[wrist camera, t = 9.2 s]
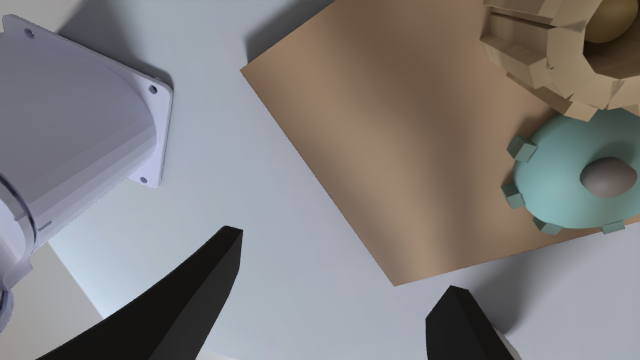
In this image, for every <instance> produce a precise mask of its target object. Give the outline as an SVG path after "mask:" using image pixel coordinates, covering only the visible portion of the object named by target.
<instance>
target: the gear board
mask: <svg viewBox="0 0 640 360" xmlns="http://www.w3.org/2000/svg"><path fill="white" fill-rule="evenodd" d="M483 2H484V0H335V1H334V2H333V3H331V4H330V5H328V6H327V7H326V8H324V9H323V10H322V11H320V12H319V13H317V14H316V15H315V16H313V17H312V18H311V19H309V20H308V21H306V22H305V23H304V24H302V25H301V26H300V27H298V28H297V29H295V30H294V31H293V32H291V33H290V34H288V35H287V36H286V37H284V38H283V39H282V40H280V41H279V42H277V43H276V44H275V45H273V46H272V47H271V48H269V49H268V50H266V51H265V52H264V53H262V54H261V55H260V56H258V57H257V58H255V59H254V60H253V61H251V62H250V63H249V64H247V65H246V66H244V67H243V68H242V69H240V72H241V73H242V74H243V76H244V77H245V79H246V80H247V81H248V83H249V84H250V86H251V87H252V88H253V90H254V91H255V93H256V94H257V95H258V97H259V98H260V100H261V101H262V102H263V104H264V105H265V107H266V108H267V109H268V111H269V112H270V114H271V115H272V116H273V118H274V119H275V121H276V122H277V123H278V125H279V126H280V128H281V129H282V130H283V132H284V133H285V135H286V136H287V137H288V139H289V140H290V142H291V143H292V144H293V146H294V147H295V149H296V150H297V151H298V153H299V154H300V156H301V157H302V158H303V160H304V161H305V163H306V164H307V165H308V167H309V168H310V170H311V171H312V172H313V174H314V175H315V177H316V178H317V179H318V181H319V182H320V184H321V185H322V186H323V188H324V189H325V191H326V192H327V193H328V195H329V196H330V198H331V199H332V200H333V202H334V203H335V205H336V206H337V207H338V209H339V210H340V212H341V213H342V214H343V216H344V217H345V219H346V220H347V221H348V223H349V224H350V226H351V227H352V228H353V230H354V231H355V233H356V234H357V235H358V237H359V238H360V240H361V241H362V242H363V244H364V245H365V247H366V248H367V249H368V251H369V252H370V254H371V255H372V256H373V258H374V259H375V261H376V262H377V263H378V265H379V266H380V268H381V269H382V270H383V272H384V273H385V275H386V276H387V277H388V279H389V280H390V282H391V283H392V284H393V286H398V285H402V284H406V283H409V282H413V281H417V280H421V279H424V278H428V277H432V276H436V275H439V274H443V273H447V272H451V271H454V270H458V269H462V268H466V267H470V266H473V265H477V264H481V263H485V262H488V261H492V260H496V259H500V258H503V257H507V256H511V255H515V254H518V253H522V252H526V251H530V250H534V249H537V248H541V247H545V246H549V245H552V244H556V243H560V242H564V241H567V240H571V239H575V238H579V237H582V236H586V235H590V234H594V233H598V232H601V231H602V232H603V233H604V234H607V233H611V232H615V231H619V230H622V229H625V226H624V225H628V224H631V223H635V222H639V221H640V117H639V116H637V115H635V114H633V113H631V112H629V111H627V110H625V109H623V108H621V107H620V108H615V109H610V110H607V109H605V108H604V109H603V110H602V109H598V110H597V111H596V112H595V114H594V115H593V116H592V118H591V119H590V120H589V121H588V122H587V121H583V120H579V119H575V118H571V117H568V116H564V115H562V114H561V113H559V112H558V111H557V110H555V109H554V108H552V107H551V106H549V105H548V104H546V103H545V102H543V101H542V100H541V99H539V98H538V97H536V96H535V95H533V94H532V93H530V92H529V91H527V90H526V89H525V88H523V87H522V86H520V85H519V84H517V83H516V82H514V81H513V80H511V79H510V78H509V77H507V76H506V75H507V73H508V71H506V70H505V69H503V68H502V67H500V66H498V65H497V64H495V63H494V62H492V61H491V60H489V59H488V58H486V57H485V55H484V52H483V50H482V47H481V44H480V41H479V40H480V39H482V38H484V37H486V36H488V35H489V34H491V25H490V15H491V14H494V13H496V12H492V11H491V10H492V8H493V7H491V6H487V5H483ZM637 12H638V2H637V0H602V2H601V3H600V5H599V6H598V8H597V9H596V11H595V12H594V14H593V16H592V17H591V19H590V20H589V22H588V23H587V25H586V28H585V36H584V40H586V41H590V42H593V43H604V42H608V41H611V40H613V39H615V38H617V37H619V36H620V35H621V34H623V33H624V32H625V31H626V30H627V29H628V28H629V27H630V26H631V24H632V23H633V21H634V20H635V18H636V15H637Z"/></svg>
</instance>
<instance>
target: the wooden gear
mask: <svg viewBox="0 0 640 360" xmlns="http://www.w3.org/2000/svg"><path fill="white" fill-rule="evenodd" d="M601 2H602V0H484V2H483V5H487V6H491V7H493V8H492V10H491V11H492V12H496V13H494V14H491V15H490V25H491V34H489V35H488V36H486V37H484V38H482V39H480V40H479V41H480V44H481V47H482V50H483V52H484V55H485V57H486V58H488V59H489V60H491V61H492V62H494V63H495V64H497V65H498V66H500V67H502V68H503V69H505V70H506V71H508V73H507V75H506V76H507V77H509V78H510V79H511V80H513V81H514V82H516V83H517V84H519V85H520V86H522V87H523V88H525V89H526V90H527V91H529V92H530V93H532V94H533V95H535V96H536V97H538V98H539V99H541V100H542V101H543V102H545V103H546V104H548V105H549V106H551V107H552V108H554V109H555V110H557V111H558V112H559V113H561V114H562V115H564V116H568V117H571V118H575V119H579V120H583V121H587V122H588V121H589V120H590V119H591V118H592V116H593V115H594V114H595V112H596V111H597V110H598V109H602V110H603V109H604V108H605V109H607V110H610V109H615V108H620V107H621V108H623V109H625V110H627V111H629V112H631V113H633V114H635V115H637V116H639V117H640V0H637V2H638V12H637V15H636V18H635V20H634V21H633V23H632V24H631V26H630V27H629V28H628V29H627V30H626V31H625V32H624V33H623V34H621V35H620V36H619V37H617V38H615V39H613V40H611V41H608V42H604V43H593V42H590V41H586V40H584V36H585V28H586V25H587V23H588V22H589V20H590V19H591V17H592V16H593V14H594V12H595V11H596V9H597V8H598V6H599V5H600V3H601Z"/></svg>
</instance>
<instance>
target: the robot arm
mask: <svg viewBox="0 0 640 360" xmlns="http://www.w3.org/2000/svg"><path fill="white" fill-rule="evenodd" d="M2 22H3V27H4V33H0V335H1V334H2V332H3V330H4V329H5V327H6V326H7V324H8V322H9V319H10V317H11V315H12V311H13V307H14V296H13V293H12V291H11V288H12V287H13V286H14V285H16V284H17V283H18V282H19V281H20V280H21V279H23V278H24V277H25V276H26V275H28V274H29V273H30V272H31V271H32V270H33V267H32V265H31V264H30V261H29V256H30V254H31V253H33V252H34V251H35V250H37V249H38V248H39V247H40V246H42V245H43V244H44V243H46V242H47V241H48V240H49V239H51V238H52V237H53V236H54V235H56V234H57V233H58V232H59V231H61V230H62V229H63V228H65V227H66V226H67V225H68V224H70V223H71V222H72V221H73V220H75V219H76V218H77V217H78V216H80V215H81V214H82V213H83V212H85V211H86V210H87V209H89V208H90V207H91V206H92V205H94V204H95V203H96V202H97V201H99V200H100V199H101V198H102V197H104V196H105V195H106V194H107V193H109V192H110V191H111V190H113V189H114V188H115V187H116V186H118V185H119V184H120V183H121V182H123V181H124V180H125V179H126V178H128V179H131V180H133V181H135V182H138V183H140V184H143V185H145V186H147V187H150V188H157V187H158V186H159V185H160V183H161V176H162V169H163V162H164V155H165V148H166V141H167V134H168V127H169V120H170V113H171V106H172V99H173V91H172V89H171V88H170V87H169V86H168V85H167V84H165V83H163V82H161V81H158V80H156V79H154V78H152V77H150V76H148V75H145V74H143V73H141V72H139V71H137V70H134V69H132V68H130V67H128V66H126V65H123V64H121V63H119V62H117V61H115V60H112V59H110V58H108V57H106V56H104V55H102V54H99V53H97V52H95V51H93V50H91V49H88V48H86V47H84V46H82V45H80V44H77V43H75V42H73V41H71V40H69V39H66V38H64V37H62V36H60V35H58V34H55V33H53V32H51V31H49V30H47V29H45V28H42V27H40V26H38V25H35V24H34V23H31V22H29V21H27V20H25V19H22V18H20V17H18V16H16V15H4V16H3V19H2ZM32 32H33V34H34V35H33V34H32ZM153 85H154V86H155V87H156V88H157V92H156V91H155V90H154V89H153ZM145 178H146V179H147V180H146V179H145ZM242 237H243V230H241V229H238V228H234V227H230V226H223V227H222V228H221V229H220V230H219V231H218V232H217V233H216V234H215V235H214V236H212V237H211V238H210V239H209V240H208V241H207V242H206V243H205V244H204V245H203V246H202V247H200V248H199V249H198V250H197V251H196V252H195V253H194V254H192V255H191V256H190V257H189V258H188V259H186V260H185V261H184V262H183V263H182V264H180V265H179V266H178V267H177V268H175V269H174V270H173V271H172V272H171V273H169V274H168V275H167V276H165V277H164V278H163V279H161V280H160V281H159V282H157V283H156V284H155V285H153V286H152V287H151V288H149V289H148V290H147V291H145V292H144V293H143V294H141V295H140V296H138V297H137V298H136V299H134V300H133V301H131V302H130V303H128V304H127V305H125V306H124V307H123V308H121V309H119V310H118V311H116V312H115V313H113V314H112V315H110V316H109V317H107V318H106V319H104V320H103V321H101V322H99V323H98V324H96V325H94V326H93V327H91V328H90V329H88V330H86V331H85V332H83V333H81V334H80V335H78V336H77V337H75V338H73V339H71V340H70V341H68V342H66V343H65V344H63V345H61V346H59V347H58V348H56V349H54V350H52V351H50V352H49V353H47V354H45V355H43V356H41V357H39V358H38V359H36V360H195V359H196V357H197V355H198V353H199V351H200V349H201V348H202V346H203V344H204V342H205V340H206V338H207V336H208V334H209V333H210V331H211V329H212V327H213V325H214V323H215V321H216V319H217V317H218V315H219V314H220V312H221V310H222V308H223V306H224V304H225V302H226V300H227V298H228V296H229V294H230V291H231V289H232V286H233V284H234V281H235V279H236V276H237V274H238V271H239V267H240V257H241V247H242ZM426 348H427V357H428V360H515V359H514V358H513V356H512V355H511V353H510V352H509V351H508V349H507V348H506V346H505V345H504V343H503V342H502V340H501V339H500V337H499V336H498V334H497V333H496V331H495V330H494V328H493V327H492V325H491V323H490V322H489V320H488V319H487V317H486V316H485V314H484V313H483V311H482V310H481V308H480V307H479V305H478V304H477V302H476V301H475V299H474V298H473V296H472V295H471V293H470V292H469V290H467V289H463V288H459V287H456V286H452V285H450V286H449V288H448V289H447V291H446V292H445V293H444V295H443V296H442V297H441V299H440V300H439V301H438V303H437V304H436V305H435V307H434V308H433V309H432V311H431V312H430V313H429V315H428V316H427V317H426Z"/></svg>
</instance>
